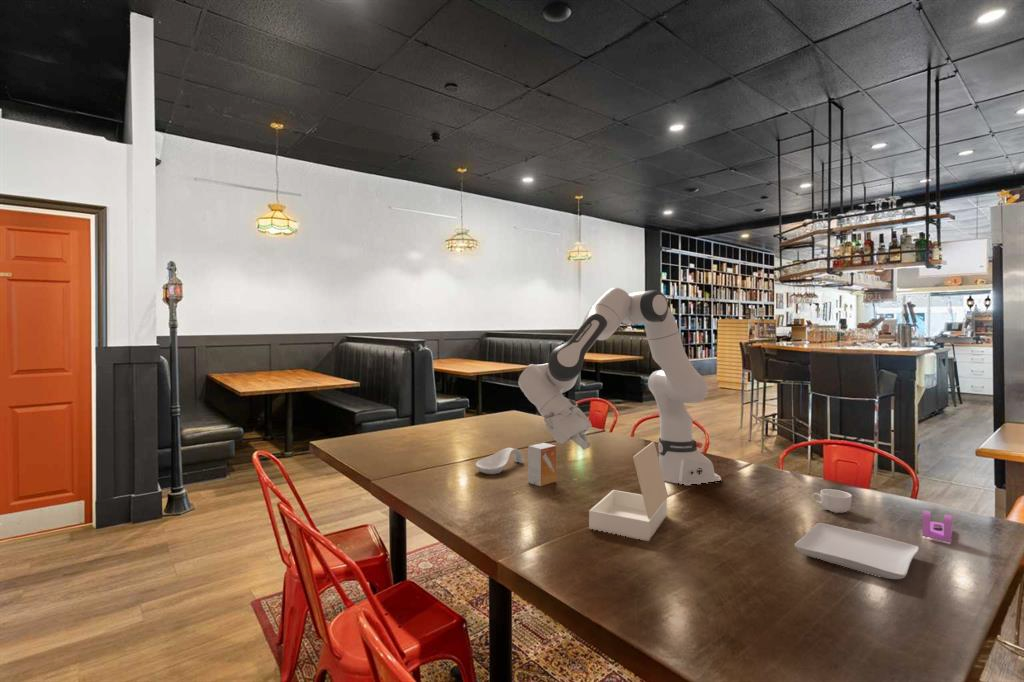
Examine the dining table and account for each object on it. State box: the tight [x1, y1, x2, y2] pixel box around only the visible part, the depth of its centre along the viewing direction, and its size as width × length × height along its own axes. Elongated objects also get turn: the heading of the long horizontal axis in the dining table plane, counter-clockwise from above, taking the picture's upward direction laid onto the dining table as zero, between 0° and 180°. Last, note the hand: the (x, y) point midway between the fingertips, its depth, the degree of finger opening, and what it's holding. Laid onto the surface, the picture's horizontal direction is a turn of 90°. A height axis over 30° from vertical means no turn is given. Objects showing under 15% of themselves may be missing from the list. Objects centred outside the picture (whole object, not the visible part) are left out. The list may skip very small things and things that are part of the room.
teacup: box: [811, 488, 853, 513], centre depth 149 cm, size 10×8×5 cm
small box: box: [527, 442, 557, 487], centre depth 176 cm, size 8×6×13 cm
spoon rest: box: [475, 447, 525, 475], centre depth 193 cm, size 24×12×7 cm, turn 143°
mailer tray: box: [588, 489, 668, 542], centre depth 139 cm, size 16×20×5 cm
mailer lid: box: [632, 441, 669, 520], centre depth 136 cm, size 16×20×1 cm
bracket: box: [921, 510, 953, 544], centre depth 132 cm, size 13×6×7 cm, turn 137°
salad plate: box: [794, 522, 920, 580], centre depth 118 cm, size 21×21×3 cm
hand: (587, 447), depth 145 cm, fingers closed
